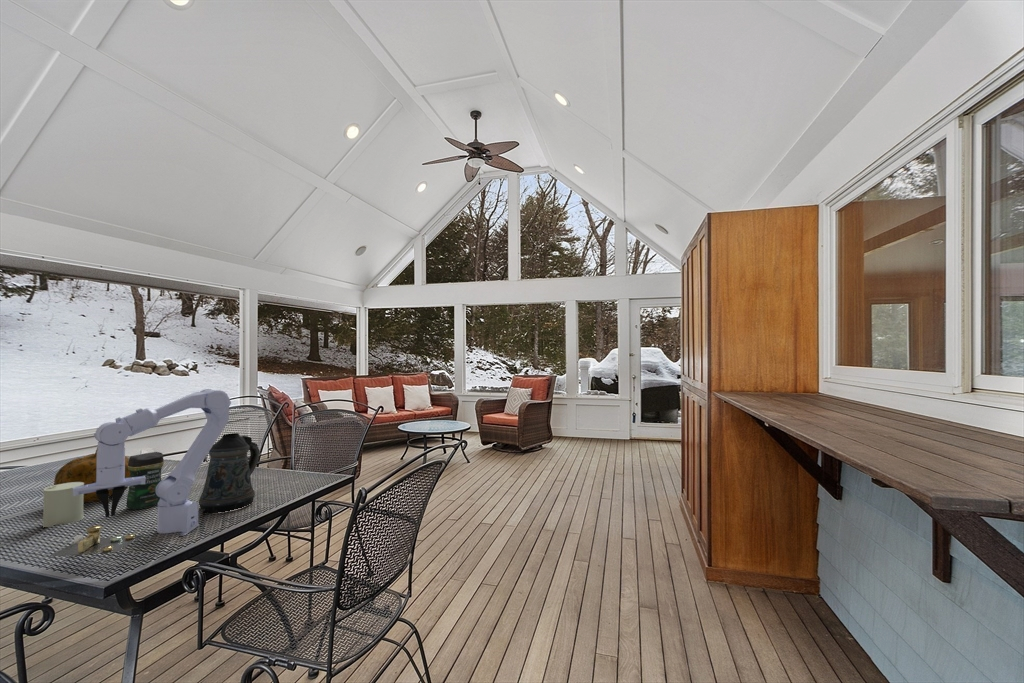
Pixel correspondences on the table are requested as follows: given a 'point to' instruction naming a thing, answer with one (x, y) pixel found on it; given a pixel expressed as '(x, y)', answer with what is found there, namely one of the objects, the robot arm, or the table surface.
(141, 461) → the coffee jar
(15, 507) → the table surface
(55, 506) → the can
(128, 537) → the base plate
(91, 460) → the decorative pumpkin
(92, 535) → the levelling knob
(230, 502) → the beer stein
